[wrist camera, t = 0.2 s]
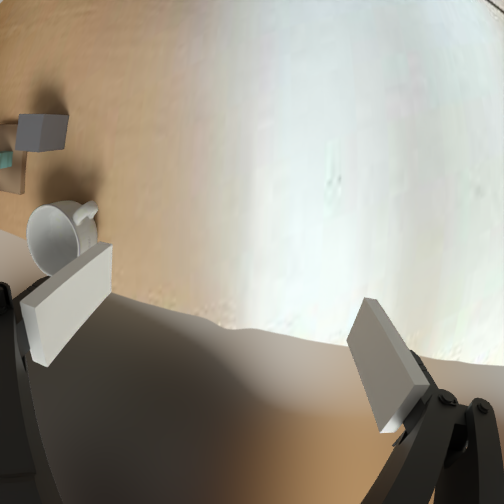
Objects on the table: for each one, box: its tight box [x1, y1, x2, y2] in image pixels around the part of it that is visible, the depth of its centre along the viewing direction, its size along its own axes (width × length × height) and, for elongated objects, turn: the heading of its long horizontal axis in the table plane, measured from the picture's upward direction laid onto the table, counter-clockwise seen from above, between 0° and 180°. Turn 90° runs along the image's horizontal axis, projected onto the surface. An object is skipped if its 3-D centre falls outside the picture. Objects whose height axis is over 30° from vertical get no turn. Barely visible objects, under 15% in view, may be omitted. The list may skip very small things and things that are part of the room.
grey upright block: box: [15, 114, 69, 152], centre depth 34 cm, size 5×5×7 cm
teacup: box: [26, 200, 98, 276], centre depth 39 cm, size 14×11×8 cm
